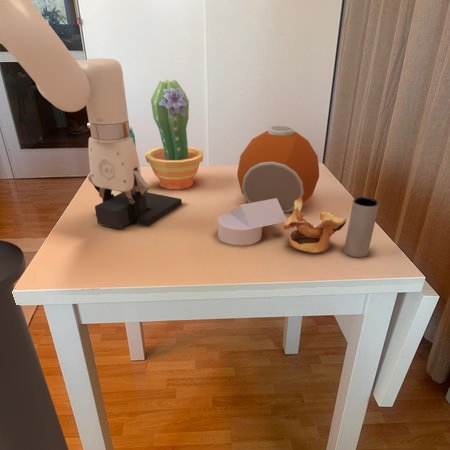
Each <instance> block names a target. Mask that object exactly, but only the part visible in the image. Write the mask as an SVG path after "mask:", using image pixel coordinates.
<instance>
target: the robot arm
mask: <svg viewBox="0 0 450 450" xmlns="http://www.w3.org/2000/svg"><path fill="white" fill-rule="evenodd" d="M0 44H1V45H2V46H3V47H4V48H5V49H6V50H7V52H8V53H9V54H10V55H11V56H12V57H13V58H14V59H15V61H16V62H17V63H18V64H19V65H20V66H21V68H22V69H23V70H24V71H25V72H26V73H27V75H28V76H29V77H30V78H31V79H32V81H33V82H34V83H35V85H36V88H37V90H38V91H39V93H40V94H41V96H42V98H44V99H45V100H47V101H48V102H49V103H50V104H52V106H54V107H55V108H57V109H59V110H61V111H63V112H68V113H75V112H78V111H80V110H82V109H84V108H85V107H86V113H87V119H88V122H87V124H86V126H87V129H88V130H90V137H89V138H88V164H89V171H90V172H89V175H88V176H87V179H88V181H89V183H91V184H92V185H93V187H94V189H95V190H96V192H98V196H99V198H100V199H102V202H104V201H106V200H108V199H110V198H112V197H114V196H115V194H114V193H112V192H113V191H114V192H120V193H122V192H125V193H126V196H127V198H128V200H129V202H130V203H128V204H127V205H128V212H129V219H130V221H132V222H134V221H135V220H137V217H139V216H140V206H139V200H141V198H142V197H143V196H144V194H145V193H146V192H148V191H149V190H150V189H151V188H150V185H149V184H148V183H147V181H146V180H145V179H144V178H143V177H142V173H141V166H140V162H139V161H140V160H139V155H138V151H137V146H136V147H135V145H136V143H135V144H134V141H133V138H130V129H129V127H130V123H129V114H128V105H127V98H126V97H127V96H126V89H125V81H124V73H123V68H122V65H121V63H120V62H119V61H118V60H116V59H115V58H104V57H103V58H88V59H84V60H76V58H75V57H74V55H73V54H72V53H71V51H70V50H69V49H68V48H67V46H66V45H65V43H64V42H63V41H62V39H61V37H59V35H58V34H57V32H55V30H54V29H53V28H52V26H51V24H50V23H48V21H47V20H46V19H45V17H43V15H42V14H41V12H40V11H39V10H38V9H37V8H36V6H35V5H34V3H33V2H32V0H0ZM137 186H138V188H139V189H138V188H137ZM131 191H133V194H134V195H132V192H131Z"/></svg>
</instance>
